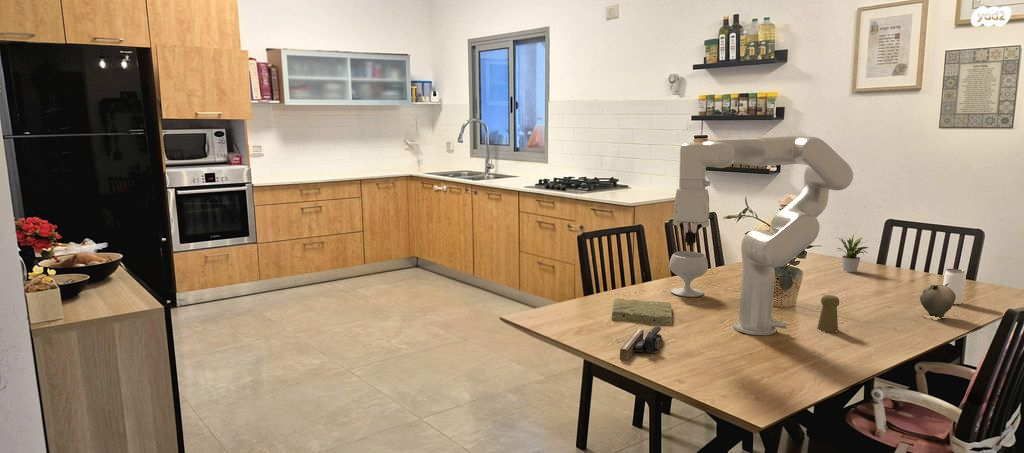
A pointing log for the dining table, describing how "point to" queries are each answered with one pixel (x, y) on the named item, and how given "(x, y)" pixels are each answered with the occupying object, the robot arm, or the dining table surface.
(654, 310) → the decorative tile
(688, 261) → the chalice
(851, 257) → the house plant
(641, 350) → the can opener
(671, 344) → the dining table surface
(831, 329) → the cork
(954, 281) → the can
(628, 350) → the walnut rail
